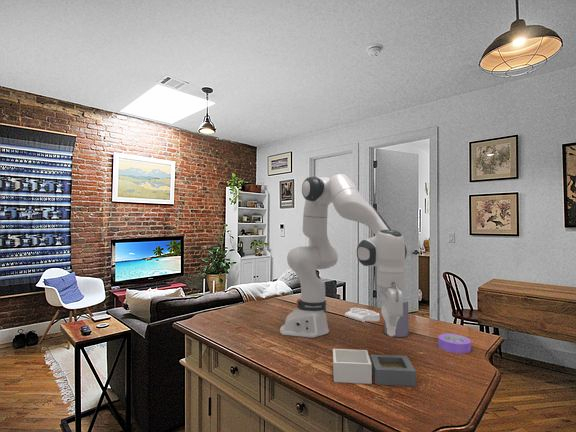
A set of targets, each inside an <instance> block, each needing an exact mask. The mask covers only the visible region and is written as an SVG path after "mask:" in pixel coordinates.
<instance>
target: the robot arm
mask: <svg viewBox="0 0 576 432" xmlns="http://www.w3.org/2000/svg"><path fill="white" fill-rule="evenodd" d="M301 194H302V196H303V198H304V199H305V200H304V201H305V202H304V206H303V214H302V215H303V216H302V233H303V235H304V236H305V237H306V238H308V239H309V240H310V245H309V246H298V247H294V248H291V249H290V250H289V251H288V254H287V256H286V258H287V259H286V260H287V264H288V267H289V268H290V269H291V271H293V272H295V273H296V275H297V277H298V279H299V283H300V284H299V285H300V292H301V294H300V295H301V296H300V297H301V298H297V299H296V308H295V309H294V310H292V311H291V312H290V313H289V314H287V316H286V318H285V321H284V324H282V325H281V326H280V328H279V332H280V334H281V335H282V336H284V335H285V336H292V337H293V336H294V337H301V338H302V337H303V338H313V339H314V338H316V337H321V336H323V335H327V334H329V332H330V329H329V326H328V320H327V319H328V318H327V314H326V313H327V312H328V311H327V300H326V284H325V282H324V280H323V279H321V278H319V277H318V276H317V271H316V270H326V269H330V268H333V267H334V266H336V265H337V262H338V259H339V257H338V256H339V255H338V251H337V250H336V248H334V247H333V246H332V244H331V243H330V240H329V237H328V207H329V205H330V204H333V207H334V210H336V212H337V213H338V215H339V216H340V217H342V218H343V219H345V220H350V221H354V222H357V223H361V224H363V225H365V226H366V227H368V228H369V229H370V230H371V232H372V233H373V234H374V236H371V237H369V238H366V239H362V240H361V241H360V242H359V243H358V245H357V248H356V257H357V260H358V261H359V262H360V264H361V265H362V266H364V267H372V268H373V267H376V285H377V286H378V288H379V289H378V291H379V298H380V302H381V303H382V306H383V305H384V304H385V306H386V309H387V311H388V312H389V314H390V319H389V324H390V326H393V327H395V326H396V320H397V317H402V315H403V299H404V297H403V292H402V288H404V287H406V270H405V269H406V268H405V261H406V258H407V255H408V249H407V245H406V244H405V238H404V236H403V234H402V233H401V232H400V231H397V230H392V229H391V227H390V226H389V225H388V224H387V222H386V220H385V219H384V218H383V217H382V215H381V214H380V212H378V210H377V209H376V208H374V207H373V206H372V205H371V204H370V203H369V202H368V201H367V200H366V199H365V198H364V197H363V196H362V195H361V194H360V192H359V190H358V188H357V186H356V185H355V184H354V182H353V181H352V180H351V178H349V176H348V175H346V174H344V173H337V174H334V175H332V176H308V177H306V178H305V179H304V181H303V183H302V185H301Z"/></svg>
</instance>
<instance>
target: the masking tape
mask: <svg viewBox="0 0 576 432" xmlns="http://www.w3.org/2000/svg"><path fill="white" fill-rule="evenodd" d="M437 338H438V339H437V340H438V341H437V342H438V343H437V344H438V348H440V349H441V350H443V351H444V352H450V353H453V354H468V353H470V352H472V340H471V339H470V338H468V337H466V336H463V335H461V334H455V333H442V334H440V335H438V337H437Z"/></svg>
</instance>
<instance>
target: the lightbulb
mask: <svg viewBox="0 0 576 432" xmlns="http://www.w3.org/2000/svg"><path fill="white" fill-rule="evenodd" d="M380 310H381V311H380V312H381V313H380V314H381V316H382V318H383V319H384V320H385V322H386V328H387V334H388V335H387V334H386V335H387V336H389V337H391V338H392V336H394V335H395V329H396V326H395V327H393V326H390V324H389V319H390V314H389V312H388V311H387V309H386V306H385V304H384V305H383V304H382V307H381V309H380ZM399 318H400V317H397V320H396V325H397V321H398V319H399ZM384 320H383V321H384Z"/></svg>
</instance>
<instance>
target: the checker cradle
mask: <svg viewBox="0 0 576 432" xmlns="http://www.w3.org/2000/svg"><path fill="white" fill-rule="evenodd" d="M370 361H371V364H372V376H373V377H372V378H373V380H374V383H375V385H381V386H403V387H417V370H416V369H415V368H414V367H415V366H413V364H412V362H411V361H410V359H409V357H408V355H397V354H395V355H393V354H392V355H391V354H390V355H389V354H370ZM380 363H395V364H401V365H402V367H403V368H390V367H381V365H380Z"/></svg>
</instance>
